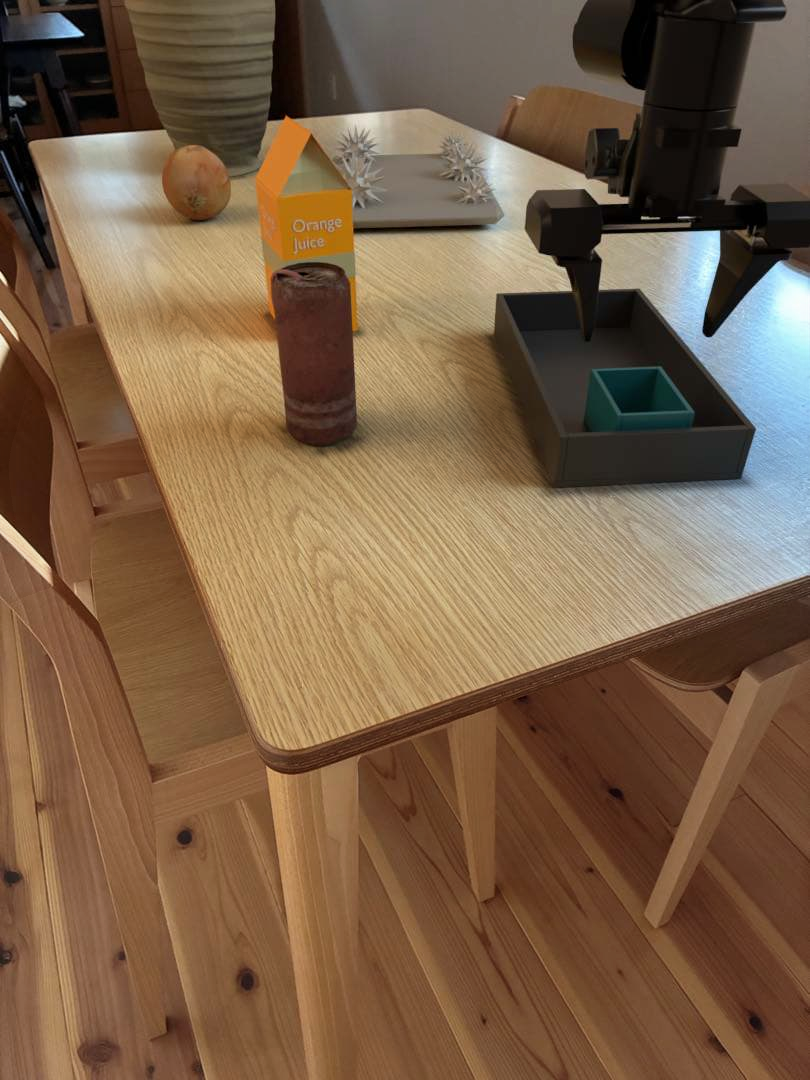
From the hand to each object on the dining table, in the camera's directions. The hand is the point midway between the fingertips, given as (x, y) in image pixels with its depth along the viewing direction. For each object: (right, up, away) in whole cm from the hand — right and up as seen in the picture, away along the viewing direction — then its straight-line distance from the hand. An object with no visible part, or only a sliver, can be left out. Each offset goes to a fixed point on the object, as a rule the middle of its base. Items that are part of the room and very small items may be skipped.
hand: (646, 337), depth 60 cm
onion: (-48, +33, +60) cm, 84 cm away
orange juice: (-28, +9, +30) cm, 42 cm away
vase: (-51, +52, +84) cm, 111 cm away
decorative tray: (-18, +39, +67) cm, 80 cm away
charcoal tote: (0, -2, +15) cm, 15 cm away
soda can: (-25, -6, +11) cm, 28 cm away
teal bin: (+1, -7, +7) cm, 10 cm away
